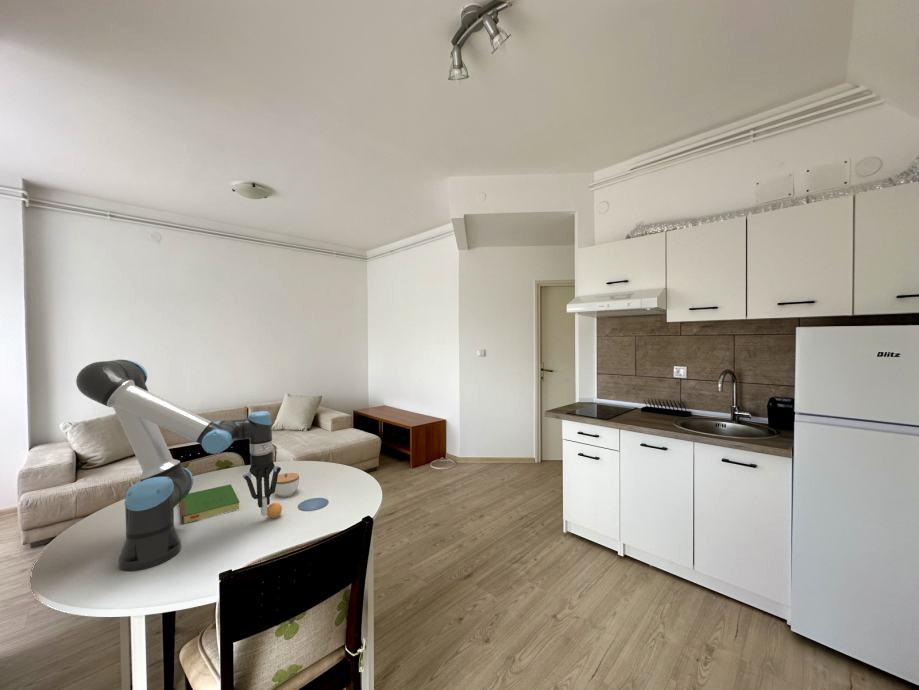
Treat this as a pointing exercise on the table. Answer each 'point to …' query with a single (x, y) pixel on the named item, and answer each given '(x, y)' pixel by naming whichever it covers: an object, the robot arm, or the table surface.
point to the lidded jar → (287, 484)
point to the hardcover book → (208, 503)
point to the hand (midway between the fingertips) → (264, 514)
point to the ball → (274, 510)
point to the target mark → (313, 504)
